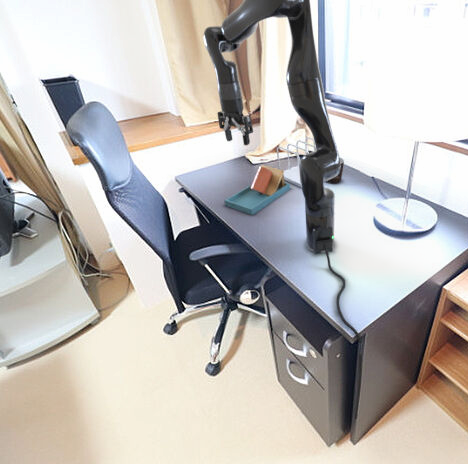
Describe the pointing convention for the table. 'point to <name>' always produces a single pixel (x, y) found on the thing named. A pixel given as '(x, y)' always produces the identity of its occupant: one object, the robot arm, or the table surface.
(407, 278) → the table surface
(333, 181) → the coffee mug
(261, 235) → the table surface
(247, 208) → the tray
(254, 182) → the orange cylinder
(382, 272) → the table surface
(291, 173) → the file sorter
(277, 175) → the wooden stand
